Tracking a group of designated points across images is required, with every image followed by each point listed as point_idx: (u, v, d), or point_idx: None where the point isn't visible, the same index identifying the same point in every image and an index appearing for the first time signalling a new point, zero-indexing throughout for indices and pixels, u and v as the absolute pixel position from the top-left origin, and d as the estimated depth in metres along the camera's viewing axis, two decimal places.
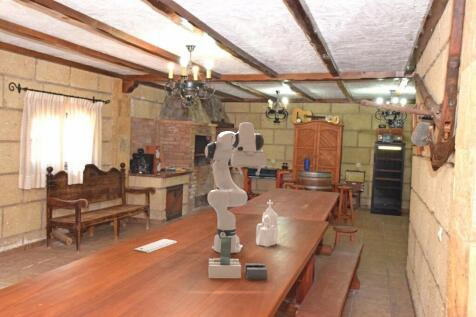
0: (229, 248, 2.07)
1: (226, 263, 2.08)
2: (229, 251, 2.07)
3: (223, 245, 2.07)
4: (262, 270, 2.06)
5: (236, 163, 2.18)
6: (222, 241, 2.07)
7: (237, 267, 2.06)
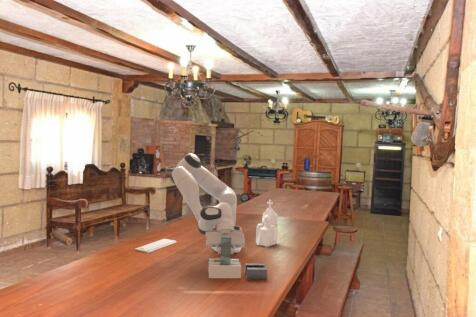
0: (229, 248, 2.07)
1: (226, 263, 2.08)
2: (229, 251, 2.07)
3: (223, 245, 2.07)
4: (262, 270, 2.06)
5: None
6: (222, 241, 2.07)
7: (237, 267, 2.06)
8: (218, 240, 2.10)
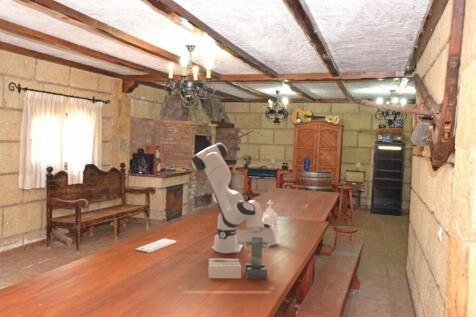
0: (260, 248, 2.09)
1: (257, 263, 2.09)
2: (260, 251, 2.09)
3: (254, 245, 2.09)
4: (262, 270, 2.06)
5: None
6: (253, 241, 2.08)
7: (237, 267, 2.06)
8: (249, 238, 2.12)
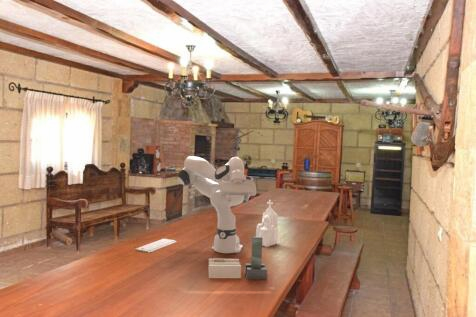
0: (260, 248, 2.09)
1: (257, 263, 2.09)
2: (260, 251, 2.09)
3: (254, 245, 2.09)
4: (262, 270, 2.06)
5: None
6: (253, 241, 2.08)
7: (237, 267, 2.06)
8: (231, 189, 2.25)
